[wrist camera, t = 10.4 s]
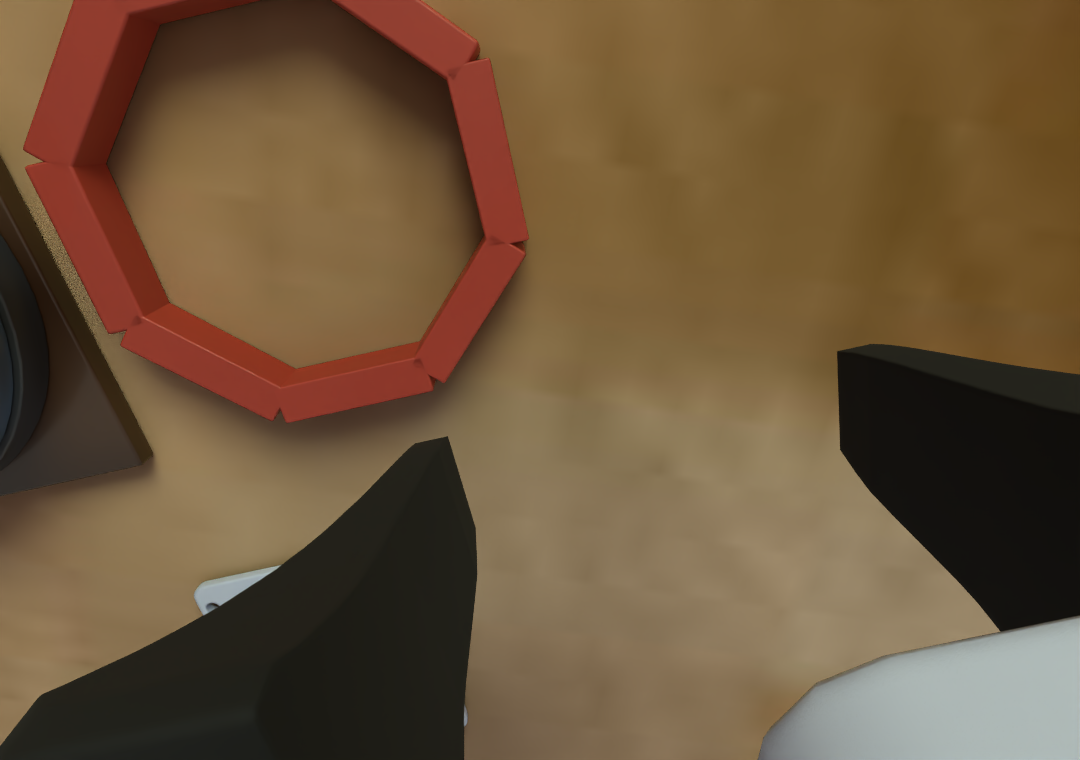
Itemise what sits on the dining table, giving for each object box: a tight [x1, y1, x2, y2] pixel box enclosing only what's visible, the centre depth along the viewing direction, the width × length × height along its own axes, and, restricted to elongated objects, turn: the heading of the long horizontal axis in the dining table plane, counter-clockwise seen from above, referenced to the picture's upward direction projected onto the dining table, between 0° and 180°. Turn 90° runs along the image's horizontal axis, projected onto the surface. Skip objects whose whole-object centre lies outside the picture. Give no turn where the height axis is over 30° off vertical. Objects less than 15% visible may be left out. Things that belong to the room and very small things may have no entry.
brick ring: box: [23, 0, 529, 423], centre depth 18 cm, size 12×12×2 cm
